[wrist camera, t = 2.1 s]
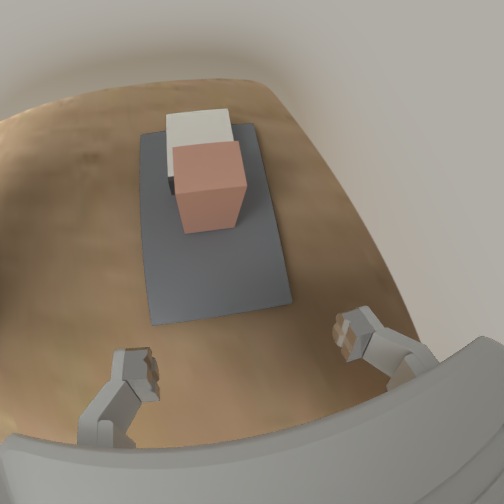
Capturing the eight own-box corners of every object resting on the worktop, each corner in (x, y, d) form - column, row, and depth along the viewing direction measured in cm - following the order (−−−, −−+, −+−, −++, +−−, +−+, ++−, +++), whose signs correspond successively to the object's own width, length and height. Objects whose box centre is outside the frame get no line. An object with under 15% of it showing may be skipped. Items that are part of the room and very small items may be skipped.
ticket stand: (154, 325, 25) (144, 326, 21) (142, 141, 30) (136, 118, 26) (288, 304, 28) (303, 301, 24) (251, 130, 33) (257, 107, 28)
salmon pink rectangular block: (184, 234, 26) (175, 194, 18) (181, 197, 27) (172, 147, 18) (234, 227, 27) (247, 186, 19) (228, 191, 28) (238, 140, 19)
